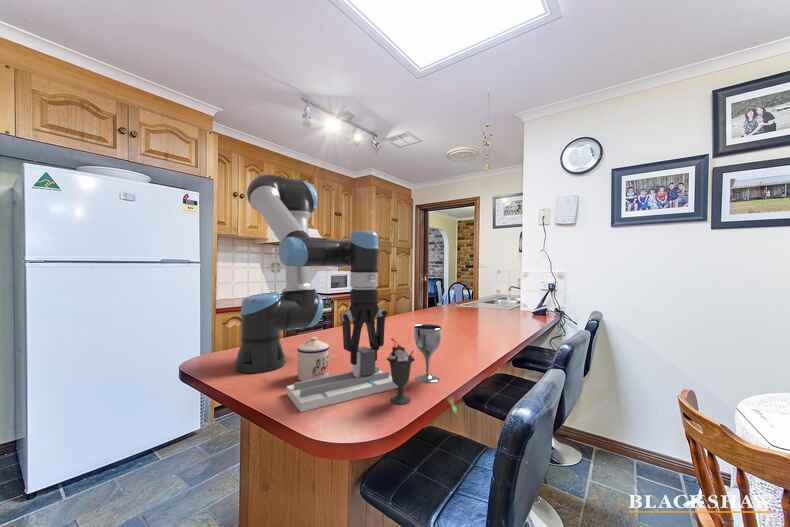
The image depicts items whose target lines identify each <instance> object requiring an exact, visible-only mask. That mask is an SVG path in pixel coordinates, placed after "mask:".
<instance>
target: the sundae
mask: <svg viewBox="0 0 790 527" xmlns="http://www.w3.org/2000/svg"><path fill="white" fill-rule="evenodd" d="M390 340H391V341H392V342H393V343H394V346H393V347H391V350H392V351H391V352H389V355H388V357H387V358H386V361H388V362H389V367H390V372H391V375H390V376H391V377H392V380H393V382H394V383H395V384H396V385H397V386H398V388H397V395H394V396H392V397H391V398H390V402H391V403H393V404H395V405H399V406H400V405H401V406H402V405H407V404H409V403H410V402H411V398H410V397H409V396H407V395H404V387H405V385H407V383H408V382H409V380H410V375H411V374H410V373H411V366H412V363H413V362H415V361H416V359H415V358H414V356H412V355H413V353H414V350H412V351H411V352H410V354H409V351H408V349H406V348H405V347H403V346H402V345H401V344H398V342H397V341H396V340H395V338H391V339H390Z"/></svg>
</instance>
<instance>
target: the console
mask: <svg viewBox="0 0 790 527" xmlns="http://www.w3.org/2000/svg"><path fill="white" fill-rule="evenodd" d="M394 389H398V386H397V385H396V384H395V383H394V382H393V380H392V375H390V373H389V371H388V370H385V371H381V370H380V366H378V365H377V366H376V365H375V374H371V375H366V376H362V377H357V378H356V377H355V376H354V375H353V370H352V371H346V372H341V373H337V374H333V375H332V374H331V375H328V376H326V377H321V378H316V379H311V380H305V381H301V380H299V381H296V382H293V384H290V385H286V395H287V396H288V398H289V399H290V400H291V401H292V403H293V404H294V405H295V407H296V408H297V409H298V410H299V411H300V413H302V412H307V411H310V410H311V411H312V410H314V409H317V408H322V407H326V406H330V405H334V404H338V403H342V402H346V401H350V400H354V399H358V398H362V397H366V396H371V395H374V394H378V393H381V392H385V391H390V390H394Z"/></svg>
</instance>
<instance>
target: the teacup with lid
mask: <svg viewBox="0 0 790 527" xmlns="http://www.w3.org/2000/svg"><path fill="white" fill-rule="evenodd" d="M330 354H331V352H330V346H329V344H328V343H326V342H323V341H321V340H318V337H317V336H311V337H309V340H307V341H306V342H304V343H301V344H300V345H298V346H297V379H298V380H299V381H305V380H311V379H316V378H321V377H326V376H329V359H330Z"/></svg>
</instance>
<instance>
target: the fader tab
mask: <svg viewBox="0 0 790 527" xmlns="http://www.w3.org/2000/svg"><path fill="white" fill-rule="evenodd" d="M358 352H360V377H362V376H366V375H371V374H375V367H376V361H375V350H372V349H371V347H367V346H366V345H364V346H358ZM355 377H356V376H355ZM356 378H357V377H356Z"/></svg>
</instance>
